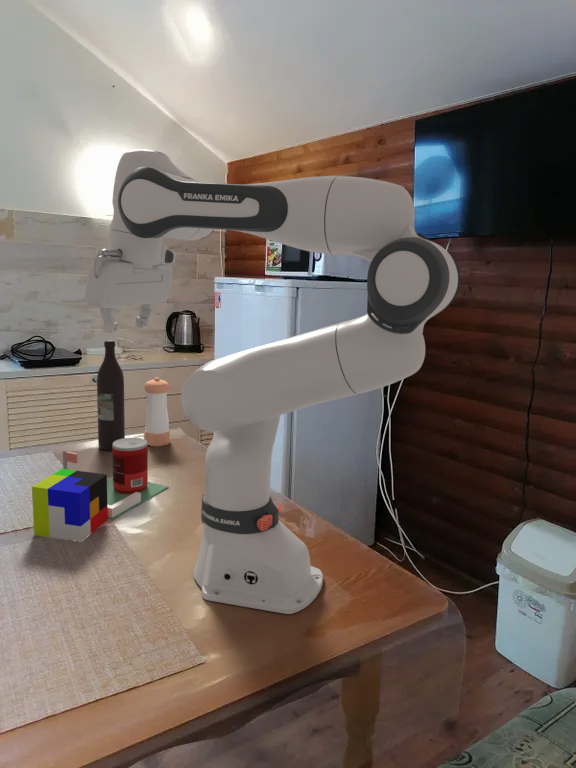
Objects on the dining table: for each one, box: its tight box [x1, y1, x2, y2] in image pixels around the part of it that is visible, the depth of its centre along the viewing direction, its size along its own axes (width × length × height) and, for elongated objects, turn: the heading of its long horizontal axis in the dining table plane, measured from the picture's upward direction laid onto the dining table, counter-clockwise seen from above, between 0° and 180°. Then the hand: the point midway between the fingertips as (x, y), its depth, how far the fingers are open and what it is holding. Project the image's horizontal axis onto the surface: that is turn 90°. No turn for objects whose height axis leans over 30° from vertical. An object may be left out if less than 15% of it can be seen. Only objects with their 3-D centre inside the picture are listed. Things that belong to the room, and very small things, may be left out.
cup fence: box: [62, 449, 141, 518], centre depth 128 cm, size 13×9×12 cm
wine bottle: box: [96, 339, 126, 452], centre depth 162 cm, size 7×7×30 cm
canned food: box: [111, 437, 149, 494], centre depth 137 cm, size 8×8×11 cm
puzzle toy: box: [31, 468, 109, 542], centre depth 117 cm, size 10×10×10 cm
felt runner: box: [107, 478, 169, 521], centre depth 133 cm, size 14×20×1 cm
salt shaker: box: [143, 376, 171, 447], centre depth 169 cm, size 7×7×19 cm
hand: (126, 329), depth 105 cm, fingers open, 8 cm apart
